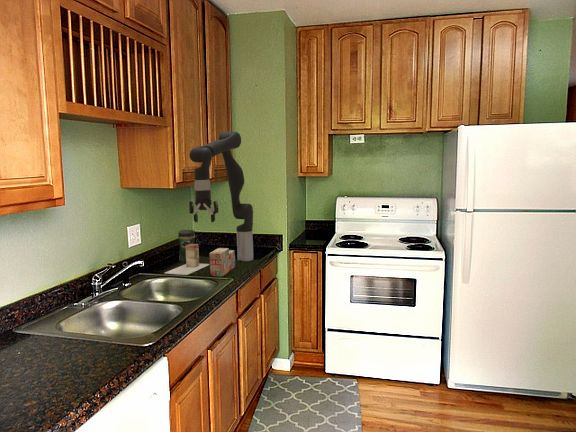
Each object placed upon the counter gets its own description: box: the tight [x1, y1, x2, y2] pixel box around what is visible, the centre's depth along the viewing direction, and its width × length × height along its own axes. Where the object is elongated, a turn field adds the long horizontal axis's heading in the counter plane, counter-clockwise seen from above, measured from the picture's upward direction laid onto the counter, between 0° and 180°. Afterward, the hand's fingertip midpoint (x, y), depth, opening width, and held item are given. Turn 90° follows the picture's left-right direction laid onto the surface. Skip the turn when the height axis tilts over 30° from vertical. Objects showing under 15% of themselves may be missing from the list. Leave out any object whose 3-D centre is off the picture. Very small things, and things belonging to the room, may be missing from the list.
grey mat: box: [164, 262, 210, 276], centre depth 234 cm, size 24×14×1 cm, turn 160°
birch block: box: [185, 243, 200, 268], centre depth 238 cm, size 5×5×12 cm
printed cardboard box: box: [208, 247, 236, 278], centre depth 229 cm, size 21×6×12 cm, turn 168°
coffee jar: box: [177, 229, 196, 262], centre depth 254 cm, size 10×8×19 cm
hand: (204, 222), depth 213 cm, fingers open, 8 cm apart
